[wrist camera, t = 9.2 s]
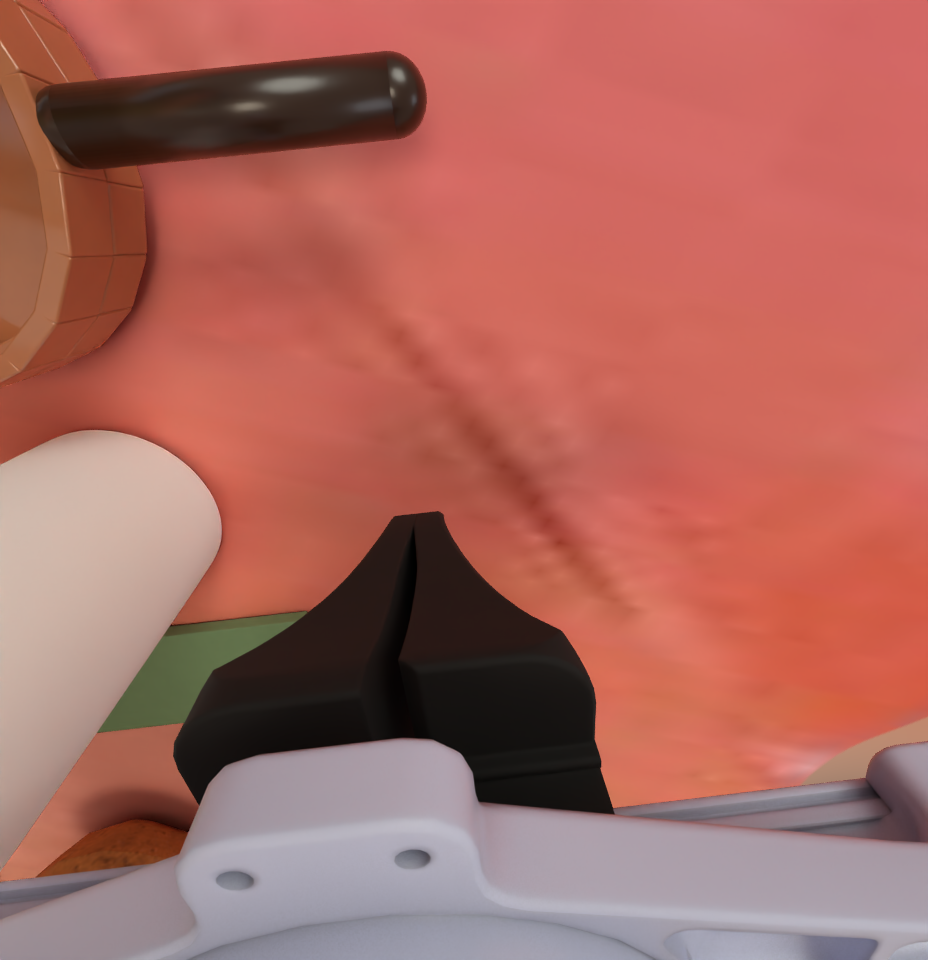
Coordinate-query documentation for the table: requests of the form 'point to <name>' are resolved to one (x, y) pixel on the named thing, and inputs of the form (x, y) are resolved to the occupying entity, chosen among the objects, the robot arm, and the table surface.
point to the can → (85, 596)
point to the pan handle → (233, 110)
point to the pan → (57, 213)
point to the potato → (119, 848)
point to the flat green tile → (188, 668)
